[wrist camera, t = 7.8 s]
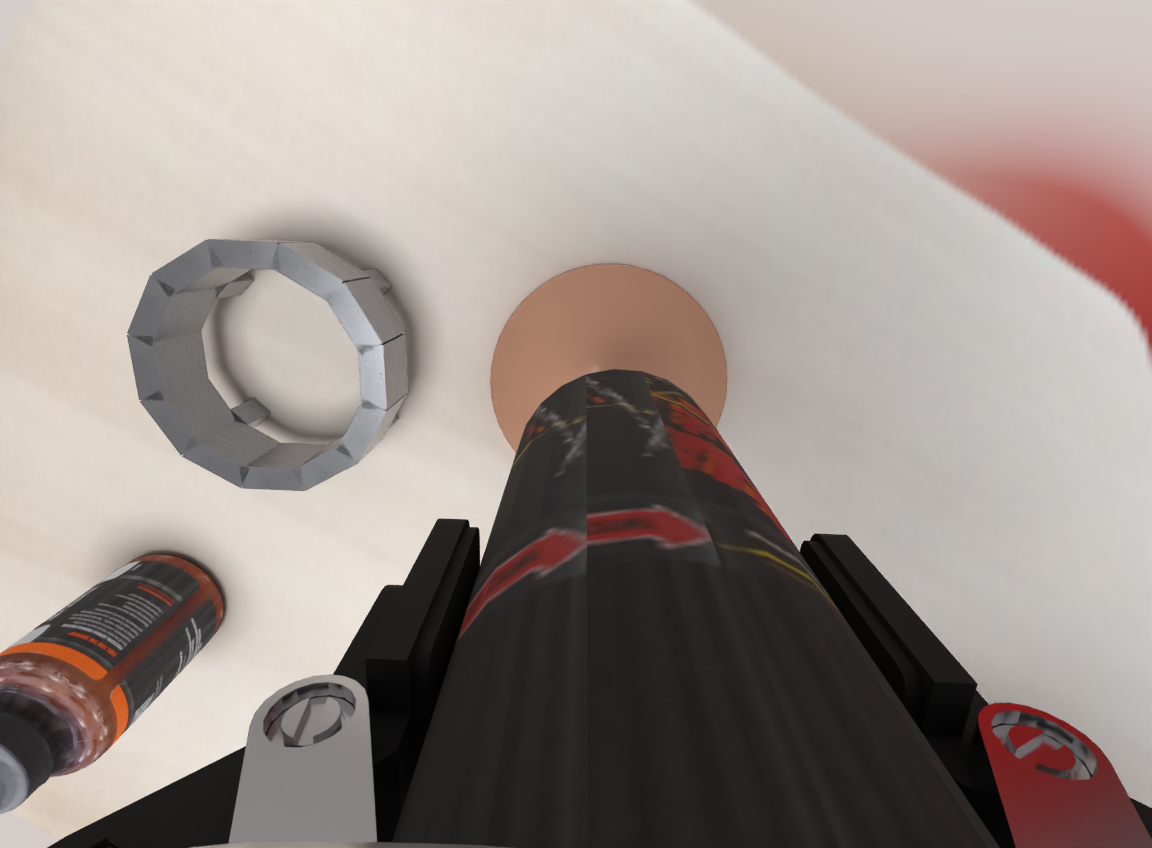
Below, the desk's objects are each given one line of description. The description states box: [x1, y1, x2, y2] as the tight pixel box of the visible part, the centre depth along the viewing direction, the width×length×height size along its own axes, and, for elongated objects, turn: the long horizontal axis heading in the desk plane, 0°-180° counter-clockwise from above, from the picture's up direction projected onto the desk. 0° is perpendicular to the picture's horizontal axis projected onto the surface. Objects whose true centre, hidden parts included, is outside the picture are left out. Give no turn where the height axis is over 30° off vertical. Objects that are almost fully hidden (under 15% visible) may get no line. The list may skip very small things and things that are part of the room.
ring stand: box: [127, 239, 408, 491], centre depth 26 cm, size 10×10×5 cm
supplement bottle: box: [0, 554, 224, 814], centre depth 27 cm, size 6×6×11 cm
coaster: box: [490, 264, 727, 452], centre depth 28 cm, size 11×11×1 cm
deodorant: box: [392, 369, 1000, 848], centre depth 10 cm, size 6×6×15 cm
